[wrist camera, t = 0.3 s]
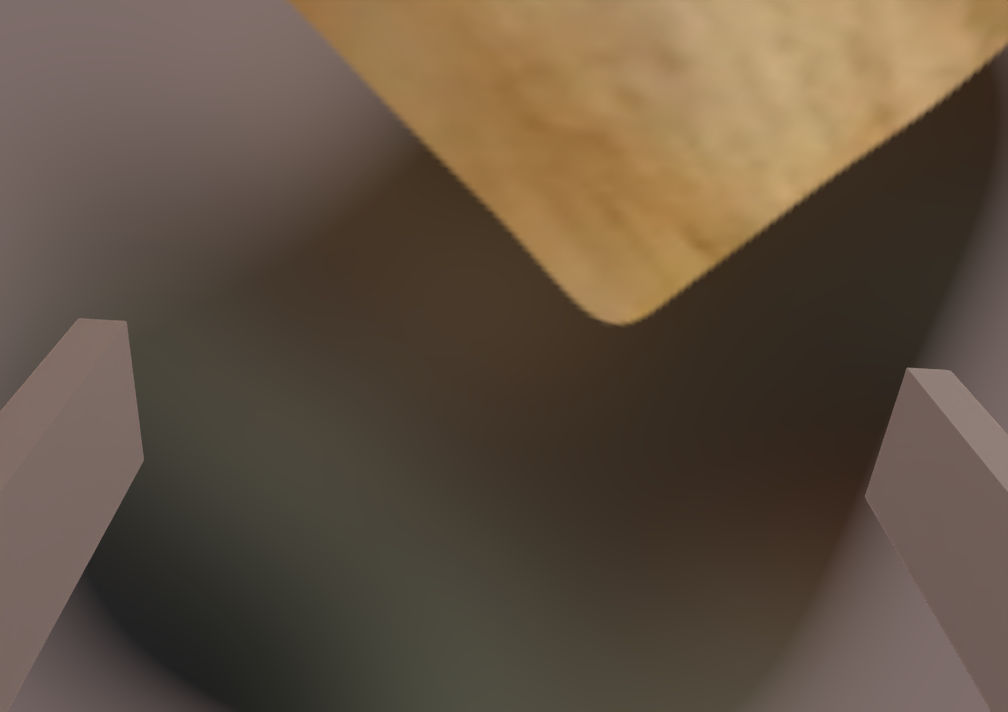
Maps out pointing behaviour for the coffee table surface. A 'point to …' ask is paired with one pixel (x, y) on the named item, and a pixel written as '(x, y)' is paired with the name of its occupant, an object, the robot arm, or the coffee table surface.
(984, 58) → the coffee table surface
